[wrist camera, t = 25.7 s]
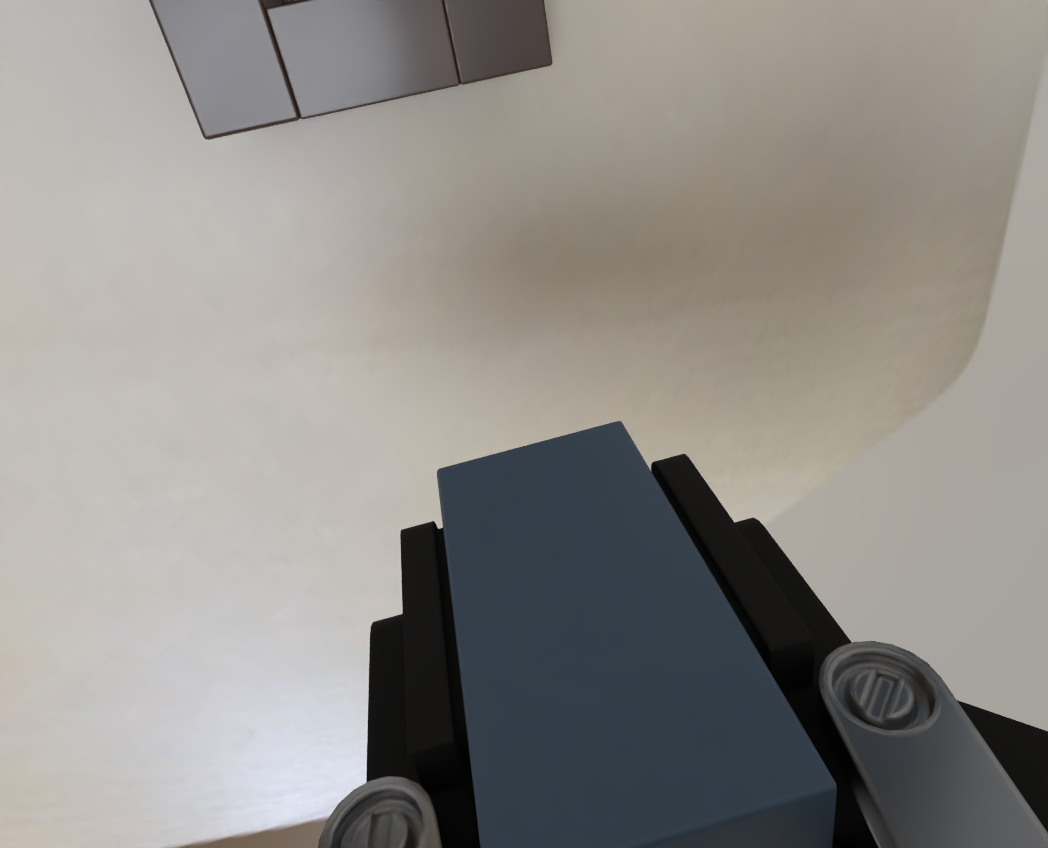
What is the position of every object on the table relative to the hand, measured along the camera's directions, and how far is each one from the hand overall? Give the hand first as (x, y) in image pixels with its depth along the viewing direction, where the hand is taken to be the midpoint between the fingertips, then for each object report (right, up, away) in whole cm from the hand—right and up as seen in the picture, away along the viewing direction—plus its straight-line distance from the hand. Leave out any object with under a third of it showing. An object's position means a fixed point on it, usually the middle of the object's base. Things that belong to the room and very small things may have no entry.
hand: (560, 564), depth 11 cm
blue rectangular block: (0, +1, +1) cm, 1 cm away
